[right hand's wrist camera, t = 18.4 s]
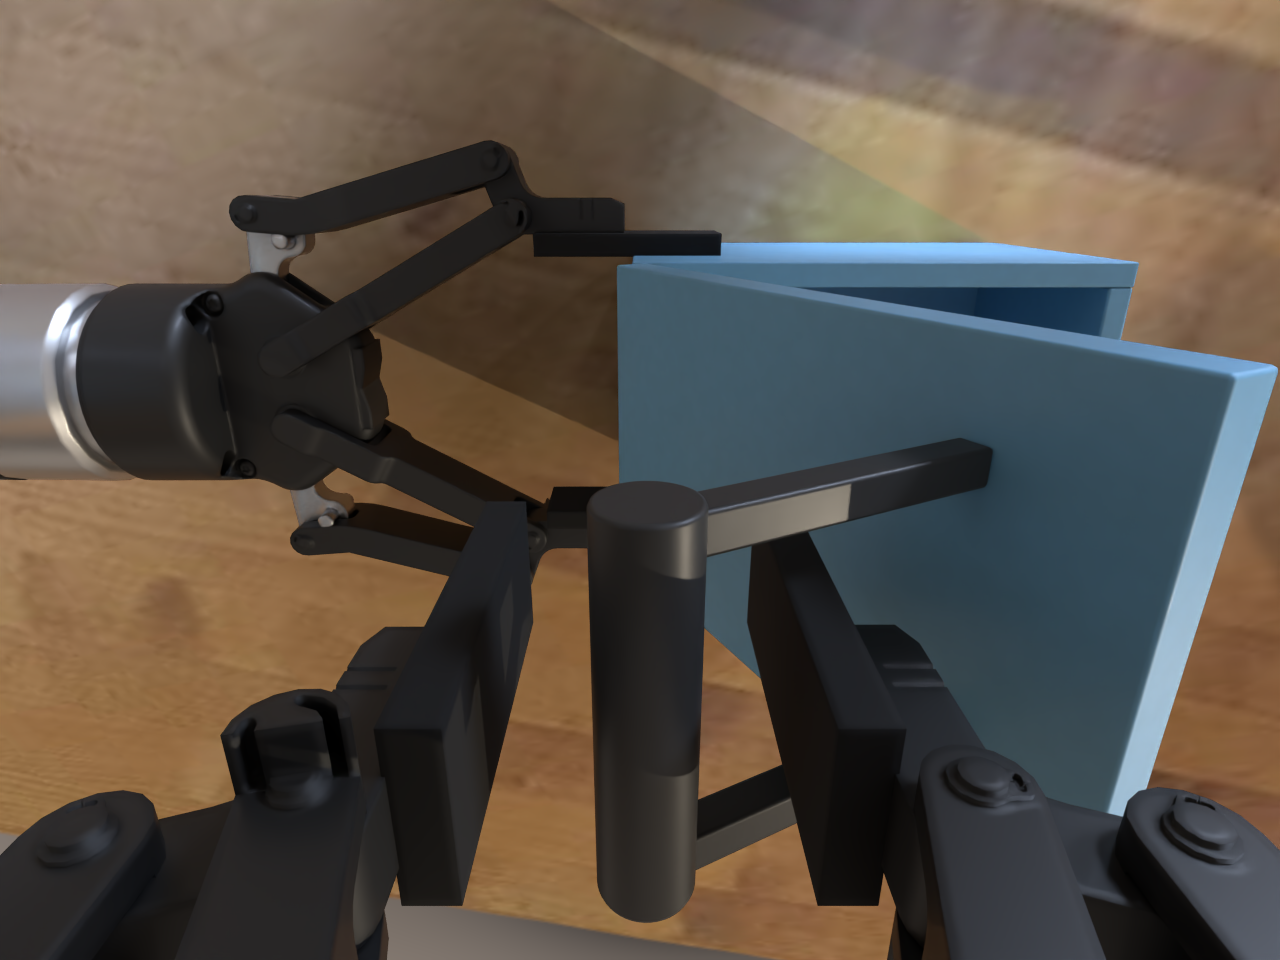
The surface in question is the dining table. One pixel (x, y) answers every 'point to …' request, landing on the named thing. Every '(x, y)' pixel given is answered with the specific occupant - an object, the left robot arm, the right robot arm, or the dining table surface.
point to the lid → (896, 536)
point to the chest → (942, 278)
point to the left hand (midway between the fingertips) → (712, 383)
